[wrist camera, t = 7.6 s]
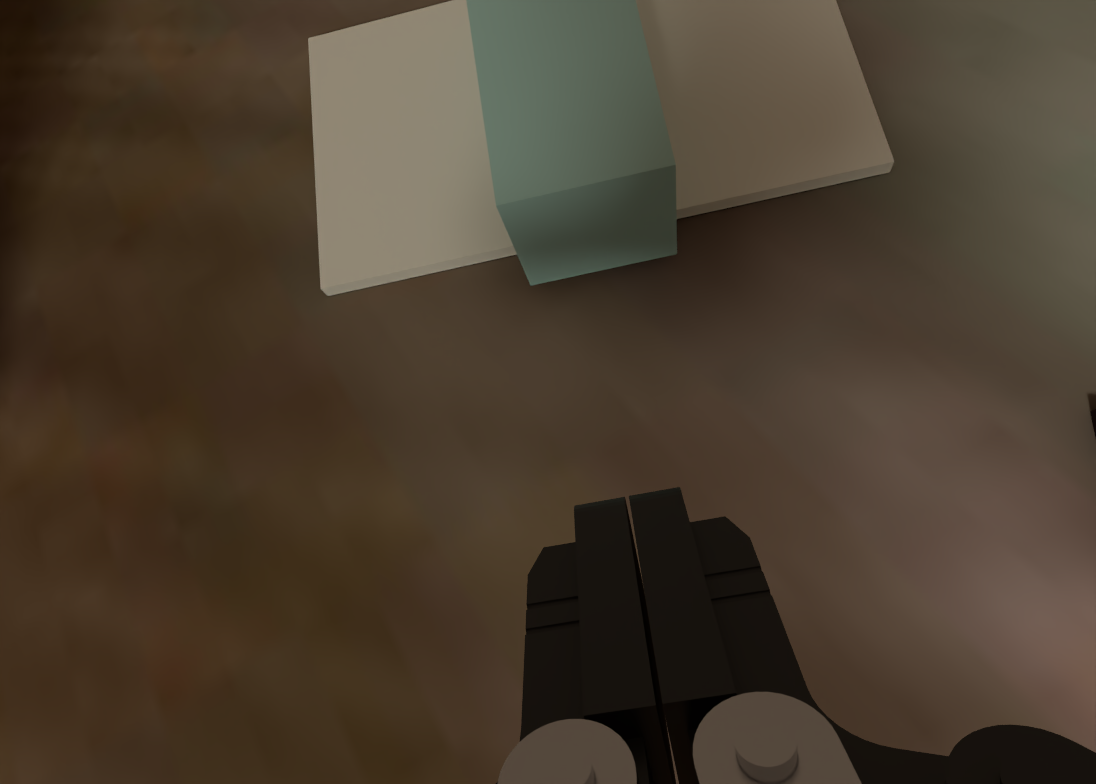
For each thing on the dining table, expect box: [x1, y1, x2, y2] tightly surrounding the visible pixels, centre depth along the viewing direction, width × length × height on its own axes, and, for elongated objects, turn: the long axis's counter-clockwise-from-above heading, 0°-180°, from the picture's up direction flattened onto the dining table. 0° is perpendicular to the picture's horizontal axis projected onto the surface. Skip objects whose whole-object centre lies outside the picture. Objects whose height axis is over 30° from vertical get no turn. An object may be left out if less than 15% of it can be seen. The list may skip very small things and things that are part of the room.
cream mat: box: [308, 0, 894, 296], centre depth 28 cm, size 20×12×1 cm, turn 99°
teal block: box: [466, 0, 677, 285], centre depth 25 cm, size 5×5×12 cm
